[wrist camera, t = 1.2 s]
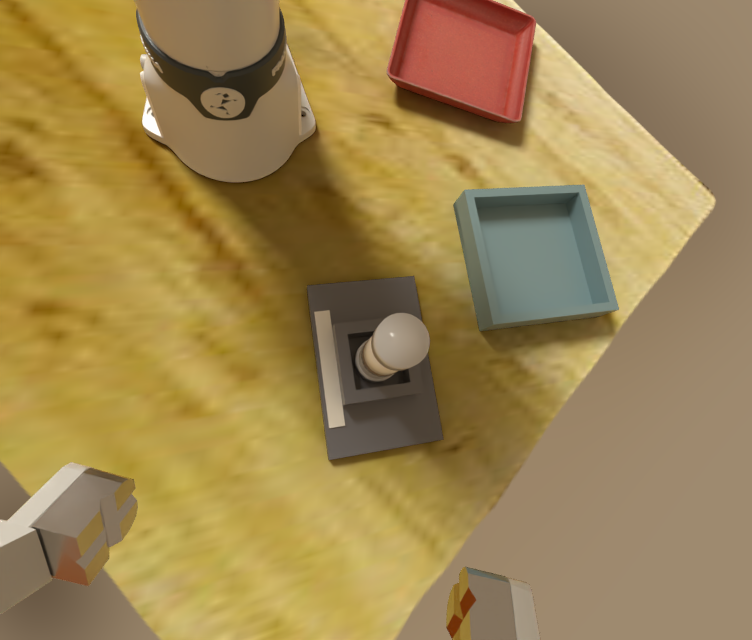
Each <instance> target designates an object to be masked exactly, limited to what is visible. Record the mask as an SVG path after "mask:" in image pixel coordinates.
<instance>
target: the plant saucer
mask: <svg viewBox="0 0 752 640" xmlns="http://www.w3.org/2000/svg"><path fill="white" fill-rule="evenodd" d="M535 27H536V20H535V19H534V17H533V16H530V15H528V14H526V13H523V12H521V11H518V10H516V9H513V8H511V7H508V6H506V5H503V4H501V3H498V2H496V1H493V0H405V3H404V7H403V10H402V15H401V18H400V22H399V26H398V30H397V34H396V37H395V41H394V45H393V48H392V52H391V56H390V60H389V63H388V67H387V75H388V76H389V78H390V79H391V80H392V81H393V82H394V83H395V84H396V85H398V86H399V87H401V88H403V89H406V90H409V91H412V92H415V93H417V94H420V95H423V96H426V97H429V98H431V99H434V100H437V101H440V102H443V103H445V104H448V105H451V106H454V107H457V108H459V109H462V110H465V111H468V112H471V113H473V114H476V115H479V116H482V117H485V118H487V119H490V120H493V121H497V122H503V123H516V122H519V121H521V118H522V111H523V105H524V98H525V92H526V86H527V78H528V73H529V65H530V60H531V53H532V46H533V40H534V33H535Z"/></svg>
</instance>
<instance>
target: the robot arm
mask: <svg viewBox="0 0 752 640" xmlns="http://www.w3.org/2000/svg"><path fill="white" fill-rule="evenodd" d="M134 2H135V4H136V7H137V11H136V17H137V23H138V27H139V31H140V34H141V35H140V37H141V40H142V43H143V46H144V49H145V51H146V53H147V55H146V54H145V55H144V54H142V55H141V58H140V60H141V66H142V69H143V70H144V71H143V72H141V73H140V76H141V81H142V84H143V87H144V90H145V93H146V96H147V98H146V103H145V108H144V113H143V118H142V125H143V128H144V131H145V132H146V134H148V135H149V136H150V137H152V138H153V139H155V140H157V141H159V142H161V143H163V144H165V145H167V146H168V147H169V148H171V149H172V150H173V152H174V153H175V154H176V155H177V156H178V157H179V158H180V159H181V160H182V161H183V162H184V163H185V164H186V165H187V166H188V167H190V168H191V169H193V170H194V171H196V172H198V173H199V174H201V175H204V176H206V177H209V178H211V179H215V180H219V181H224V182H247V181H253V180H257V179H260V178H263V177H265V176H267V175H269V174H271V173H273V172H274V171H276V170H277V169H279V168H280V167H281V166H282V165H283V164H284V163H285V162H286V161H287V160H288V158H289V157H290V155H291V154H292V152H293V150H294V149H295V147H296V146H297V145H298V144H299V143H300V142H302V141H304V140H305V139H307V138H308V137H310V136H311V135H312V134H313V133H314V132H315V130H316V122H315V118H314V115H313V113H312V110H311V107H310V105H309V102H308V99H307V96H306V94H305V91H304V88H303V86H302V83H301V80H300V76H299V75H298V72H297V69H296V67H295V64H294V61H293V59H292V56H291V53H290V50H289V48H288V45H287V41H286V31H285V26H284V19H283V15H282V12H281V9H280V7H279V0H134ZM301 115H304V116H305V117H301ZM134 490H135V483H134V479H131V478H127V477H123V476H120V475H116V474H112V473H108V472H105V471H101V470H97V469H94V468H92V467H88V466H84V465H80V464H76V463H72V462H71V463H69V464H67V465H66V466H64V467H62V468H61V469H60V470H59V471H58V472H57V473H56V474H55V475H54V476H53V477H52V478H51V479H50V480H49V481H48V482H47V483H46V484H45V485H43V486H42V487H41V488H40V489H39V490H38V491H37V492H36V493H35V494H34V495H33V496H32V497H31V498H30V499H29V500H28V501H27V502H26V503H25V504H24V505H23V506H22V507H21V508H20V509H19V510H18V511H17V512H16V513H15V514H14V515H13V516H12V517H11V518H10V519H9V520H8V521H5V520H0V615H1V614H2V613H4V612H5V611H7V610H8V609H10V608H11V607H13V606H14V605H16V604H17V603H19V602H20V601H22V600H23V599H25V598H26V597H28V596H29V595H31V594H32V593H34V592H35V591H37V590H38V589H40V588H41V587H43V586H44V585H46V584H47V583H49V582H50V581H51V580H52V578H56V579H60V580H65V581H69V582H73V583H77V584H81V585H85V586H89V585H90V584H91V582H92V581H93V580H94V578H95V577H96V576H97V574H98V573H99V572H100V570H101V569H102V567H103V566H104V565H105V563H106V562H107V561H108V559H109V547H111V546H113V545H115V544H116V543H118V542H120V541H122V540H123V538H124V537H125V536H126V534H127V533H128V531H129V530H130V528H131V526H132V524H133V522H134V519H135V517H136V514H137V508H138V505H137V500H136V499H135V498H134V496H133V495H132V494H131V493H132V492H133V491H134ZM446 620H447V622H446V623H447V624H446V628H447V630H448V632H449V634H450V636H451V638H452V640H540V634H539V628H538V622H537V616H536V610H535V605H534V599H533V593H532V589H531V587H530V585H529V584H528V583H526V582H523V581H519V580H515V579H511V578H507V577H505V576H501V575H497V574H493V573H489V572H485V571H481V570H477V569H473V568H468V567H464V568H463V569H462V570H461V572H460V574H459V583H457V584H455V585H454V586H453V588H452V590H451V592H450V596H449V600H448V605H447V619H446Z"/></svg>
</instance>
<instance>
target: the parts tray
mask: <svg viewBox="0 0 752 640" xmlns="http://www.w3.org/2000/svg"><path fill="white" fill-rule="evenodd" d="M454 210H455V215H456V220H457V225H458V229H459V234H460V239H461V244H462V249H463V253H464V258H465V263H466V268H467V273H468V277H469V282H470V287H471V292H472V297H473V302H474V306H475V311H476V316H477V321H478V326H479V330H480V331H486V330H494V329H502V328H511V327H519V326H527V325H535V324H543V323H551V322H560V321H568V320H576V319H584V318H592V317H599V316H602V315H605V314H608V313H611V312H613V311H616V310H619V307H618V304H617V300H616V296H615V293H614V289H613V286H612V282H611V279H610V275H609V271H608V268H607V264H606V261H605V257H604V253H603V250H602V246H601V243H600V239H599V236H598V232H597V228H596V225H595V221H594V218H593V214H592V210H591V207H590V203H589V200H588V196H587V193H586V189H585V185H566V186H542V187H519V188H496V189H472V190H464V191H463V192H462V194H461V195H460V196H459V198H458V199H457V200H456V202H455V203H454Z"/></svg>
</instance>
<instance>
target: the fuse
mask: <svg viewBox="0 0 752 640" xmlns="http://www.w3.org/2000/svg"><path fill="white" fill-rule="evenodd" d="M429 346H430V337H429V333H428V330H427V328H426V326H425V325H424V324H423V323H422V321H421V320H419V319H418V318H417V317H415V316H413V315H411V314H407V313H395V314H392V315H390V316H388V317H387V318H385V319H384V320H383V321H382V322H381V323H380V324H379V326H378V327H377V328H376V329H375V331H374V333H373V335H372V337H371V338H370V339H368V340H367V341H365V342H364V343H363V344H362V345H361V346H360V347H359V348H358V350H357V351H356V353H355V356H354V366H355V370H356V372H357V373H358V375H359V376H360V377H361V378H363V379H364V380H366V381H368V382H373V383H377V382H381V381H384V380H386V379H388V378H390V377H391V376H392V375H393V374H394V373H396V372H397V371H402V370H406V369H409V368H411V367H413V366H415V365H417V364H418V363H420V362H421V361H422V360H423V359H424V358H425V356H426V355H427V353H428V350H429Z"/></svg>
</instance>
